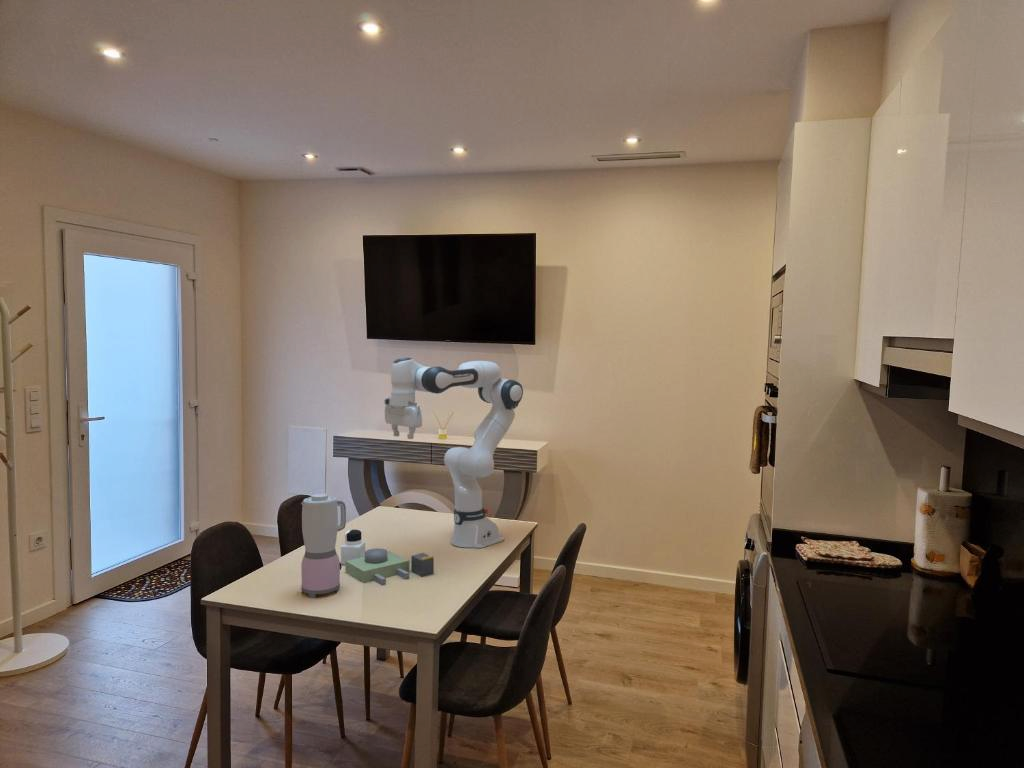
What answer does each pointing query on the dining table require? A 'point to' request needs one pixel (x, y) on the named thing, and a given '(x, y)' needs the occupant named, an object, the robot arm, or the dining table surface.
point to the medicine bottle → (352, 546)
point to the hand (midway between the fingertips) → (403, 437)
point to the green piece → (378, 566)
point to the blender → (321, 544)
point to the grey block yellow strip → (422, 564)
